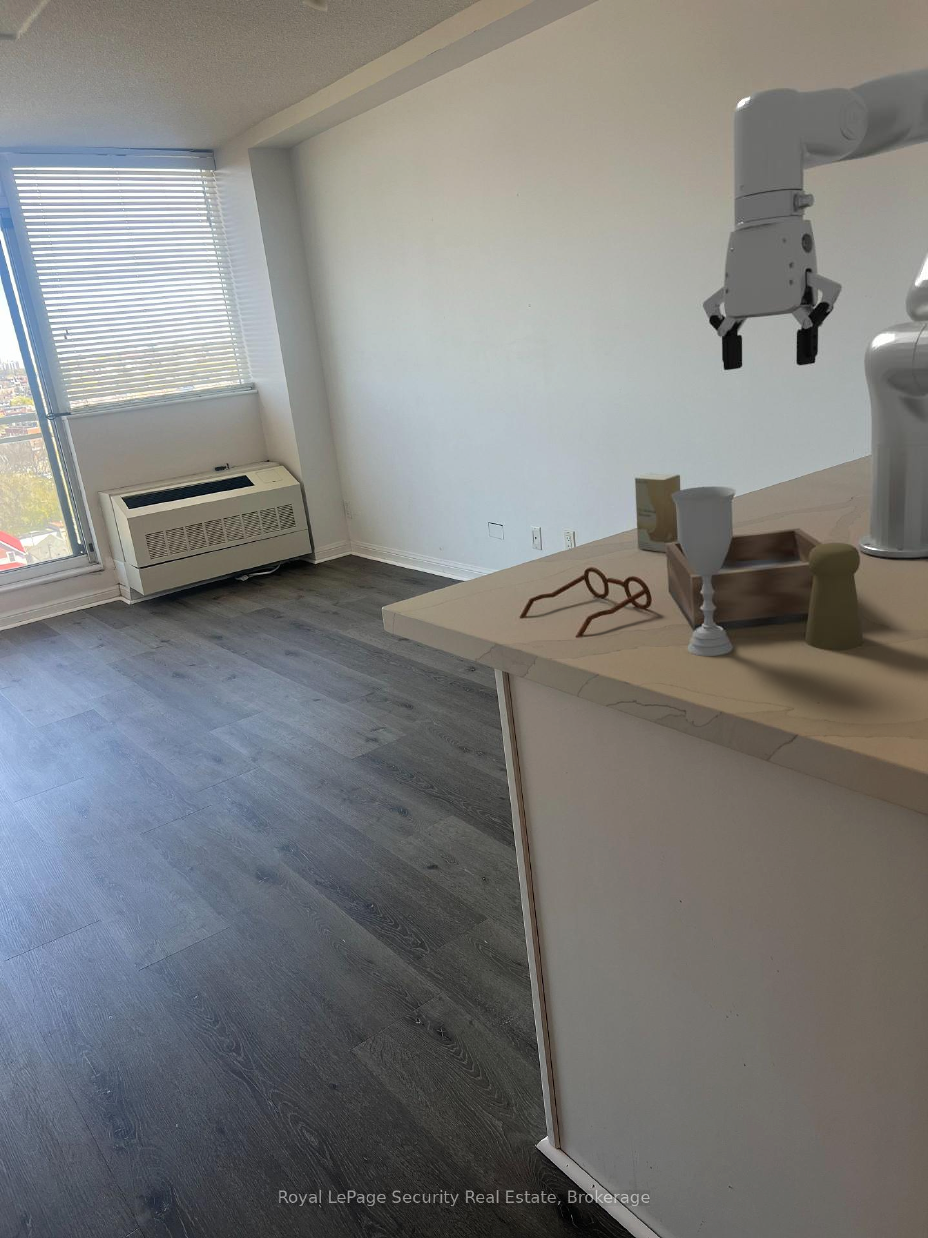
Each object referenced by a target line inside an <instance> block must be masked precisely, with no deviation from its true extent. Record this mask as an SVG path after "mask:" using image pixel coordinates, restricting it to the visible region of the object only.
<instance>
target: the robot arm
mask: <svg viewBox="0 0 928 1238" xmlns="http://www.w3.org/2000/svg"><path fill="white" fill-rule="evenodd" d="M733 112H734V113H733V181H734V183H733V185H734V187H733V188H734V189H733V191H734V192H733V193H734V194H733V195H734V197H733V199H734V201H733V203H734V205H733V206H734V209H733V210H734V231H731V232H730V234H729V238H728V242H727V243H728V244H727V248H726V249H727V250H726V255H725V266H724V280H723V286H722V287H721V288H720V289H718V290H717V291H716V292H715V293H713V294H712V295H710V296H709V297H708V298H707V299H706V300H704V302H703V303H702V308H703V311H704V312H705V313H706V316H707V318H708V322H709V324H710V325H711V326H712V328H713V329H714V330H715V331H716V334H717V336H718V337H719V338H721V356H722V357H721V358H722V364H723V370H725V371H731V370H737V369H741V368H742V367H743V336H742V335H741V334H738V332H739V331H740V330H741V328H742V327H743V325H744V324H745V322H746V320H748V319H749V318H760V317H770V316H780V315H787V314H788V315H789V314H791V315H792V316H793V317H794V319H795V320H796V321H797V323H798V324H799V325H800V326H801V327H800V329H797V330H796V357H795V358H796V363H795V364H797V365H798V366H806V365H812V364H815V363H816V357H817V355H818V353H819V328H820V327H822V325H823V323H824V321H825V319H826V318H827V317H828V316H829V315H830V314H831V313H832V312H833V310H834V308H835V307H834V305H835V304H836V302H837V300H838V297H839V296H840V293H841V291H842V289H843V286H842V284H841V283H838V282H837V281H834V280H832V279H829V278H827V277H825V276H823V275H820V274H818V262H817V261H818V260H817V251H816V243H815V238H814V232H813V227H812V223H811V220H810V219H804V216H805V210H806V209H807V208H811V207H813V206H814V202H815V200H814V195H813V193H807V194H806V193H805V192H806V191H805V190H804V177H805V176H804V171H805V170H808V169H813V168H817V167H822V166H825V165H829V164H830V165H831V164H834V163H841V162H846V161H851V160H858V159H859V160H860V159H865V158H869V157H870V158H871V157H874V156H878V155H881V154H884V153H885V154H886V153H889V152H893V151H897V150H900V149H904V148H907V147H911V146H915V145H916V146H917V145H919V144H923V143H927V142H928V66H927V67H922V68H917V69H914V70H908V71H902V72H896V73H892V74H891V73H890V74H887V75H883V76H880V77H877V78H874V79H871V80H867V81H865V82H863V83H862V82H861V83H860V84H857V85H855V86H852V87H850V88H845V87H829V88H823V89H817V90H810V91H798V90H797V89H795V88H789V87H788V88H787V87H786V88H785V87H780V88H771V89H770V88H769V89H765V90H761V91H757V92H754V93H752V94H749V95H747V96H746V97H744V98H742V99H740V101H739V102H738V103H737V104H736V107H735V109H734V111H733ZM924 254H925V255H924V257H923V259H922V260H921V263H920V265H919V267H918V269H917V271H916V273H915V274H914V277H913V279H912V282H911V284H910V286H909V289H908V291H907V295H906V299H905V310H906V311H905V312H906V313H907V315H908V317H909V319H910V320H911V321H908V322H902V323H897V324H893V325H891V326H888V327H886V328H884V329H882V330H880V331H879V332H878V333H876V335H874V336H873V337H872V338H871V340H870V341H869V343H868V344H867V347H866V350H865V354H864V361H863V362H864V363H863V364H864V365H863V366H864V374H865V380H866V384H867V388H868V393H869V401H870V417H871V446H870V447H871V451H870V452H871V453H870V509H869V510H870V511H869V512H870V514H869V515H870V516H869V518H870V519H869V521H870V523H869V525H870V526H869V527H870V528H869V530H870V533H869V534H868V535H864V536H862V537H861V538H859V540H858V549H859V551H861V552H862V553H865V554H867V555H871V556H875V557H882V558H893V559H895V558H896V559H913V558H915V559H916V558H926V557H928V249H927V250H926V253H924ZM819 291H820V292H821V293H822V296H821V298H820V302H819V303H818V301H819V300H818V299H819ZM722 304H723V308H724V313H725V316H724V314H722V313H721V312H722V311H721V308H720V307H721V305H722Z"/></svg>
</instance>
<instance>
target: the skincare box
mask: <svg viewBox="0 0 928 1238" xmlns="http://www.w3.org/2000/svg"><path fill="white" fill-rule="evenodd" d="M634 481H635V482H634V484H635V486H634V487H635V508H636V511H635V513H636V533H637V549H640V550H649V551H655V552H662V553H666V543H671V542H679V540H678V532H677V513H676V504H675V502H674V500H673V498H672V497H671V495H672V493H674V492H677V491H680V490H681V475H680V474H670V473H669V474H668V473H656V472H655V473H654V472H653V473H652V472H650V473H646V474H643V475H640V476H636V477H634Z"/></svg>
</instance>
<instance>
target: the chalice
mask: <svg viewBox="0 0 928 1238" xmlns="http://www.w3.org/2000/svg"><path fill="white" fill-rule="evenodd" d="M736 493H737V490H736V489H735V488H732V487H727V486H699V487H690V488H684V489H680V491H677V492H674V493H672V495H671V497H672V498H673V500H674V502H675V504H676V513H677V532H678V540H679V542H680V545H681V548H682V550H683V553H684V555H685V557H686V558H687V560H688V562H689V564H690V566H691V568H692V569H693V571H694V573H695V574H698V575H701V576H702V579H703V587H702V590H701V592H700V593H701V594H702V595H703V598H704V603H703V605H702V606H701V608H700V609H701V610H702V611H703V612H704V616H705V620H704V623H703V624H702V626H701V627H698V628H697V629H696V630H695V631H693V633H692V637H691V638H690V640H689V641H690V643H689V645H688V646H687V652H689V653H691V654H694V655H697V656H703V657H712V656H713V657H714V656H720V655H724V654H727V653H730V652H731V651H733V649H734V646H733V645H732V644H731V642H730V638H729V637H728V635H727V632H726V630H724V629H723V628H722V627H720V626H716V624H715V623H714V621H713V618H712V617H713V611H714V610H715V609H716V607H715V606H714V605H713V602H712V596H713V594H714V593H715V591H714V590H713V588H712V584H711V578H712V575H714V574H716V573H718V572H719V571H720V568H721V566H722V564H723V562H724V559H725V557H726V555H727V553H728V549H729V546H730V542H731V539H732V536H734V532H733V499H734V496H735V494H736Z"/></svg>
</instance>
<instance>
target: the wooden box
mask: <svg viewBox="0 0 928 1238" xmlns="http://www.w3.org/2000/svg"><path fill="white" fill-rule="evenodd" d="M821 544H823V543H822V541H821V542H820V541H819V540H818V539H816V538H814V537H813V536H812V535H810V534H809V533H807V532H805V531H804V530H802V529H801V528H800V527H798V528H789V529H782V530H772V531H762V532H752V533H745V534H735V535H734V534H733V536H732V539H731V542H730V546H729V549H728V553H727V555H726V557H725V559H724V562H723V564H722V566H721V568H720V571H719V572H718V573H716V574H714V575H712V578H711V584H712V588H713V590H714V591H715V593H714V594H713V596H712V602H713V605H714V606H715V607H716V609H715V610H714V611H713V617H712V618H713V621H714V623H715V624H716V626H720V627H722V628H723V629H724V630H725V631H726V630H735V629H741V628H742V629H744V628H745V629H746V628H753V627H763V626H764V627H765V626H774V625H782V624H783V625H784V624H792V623H802V622H808V615H809V607H810V600H811V593H812V586H813V578H814V574H813V573H812V572H811V571H810V568H809V554H810V552H811V550H812V549H813V548H814V547H816V546H818V545H821ZM665 553H666V569H667V570H666V571H667V572H666V573H667V589H668V593H669V594H670V596H671V598H672V599H673V600H674V601H673V602H675V603H676V605H677V607H678V609H679V610H680V612H681V613H682V615H683V617H684V618H685V620H686V621H687V623H688V625H689V626H690V627H691V629H692V631H693V632H694V631H695V630H696V629H697V628H698V627H701V626H702V624H703V623H704V620H705V616H704V612H703V611H702V610H701V609H700V608H701V606H702V605H703V603H704V598H703V595H702V594H701V593H700V592H701V590H702V587H703V579H702V576H701V575H698V574H695V573H694V571H693V569H692V568H691V566H690V564H689V562H688V560H687V558H686V557H685V555H684V553H683V550H682V548H681V545H680V542H671V543H666V552H665Z"/></svg>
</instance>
